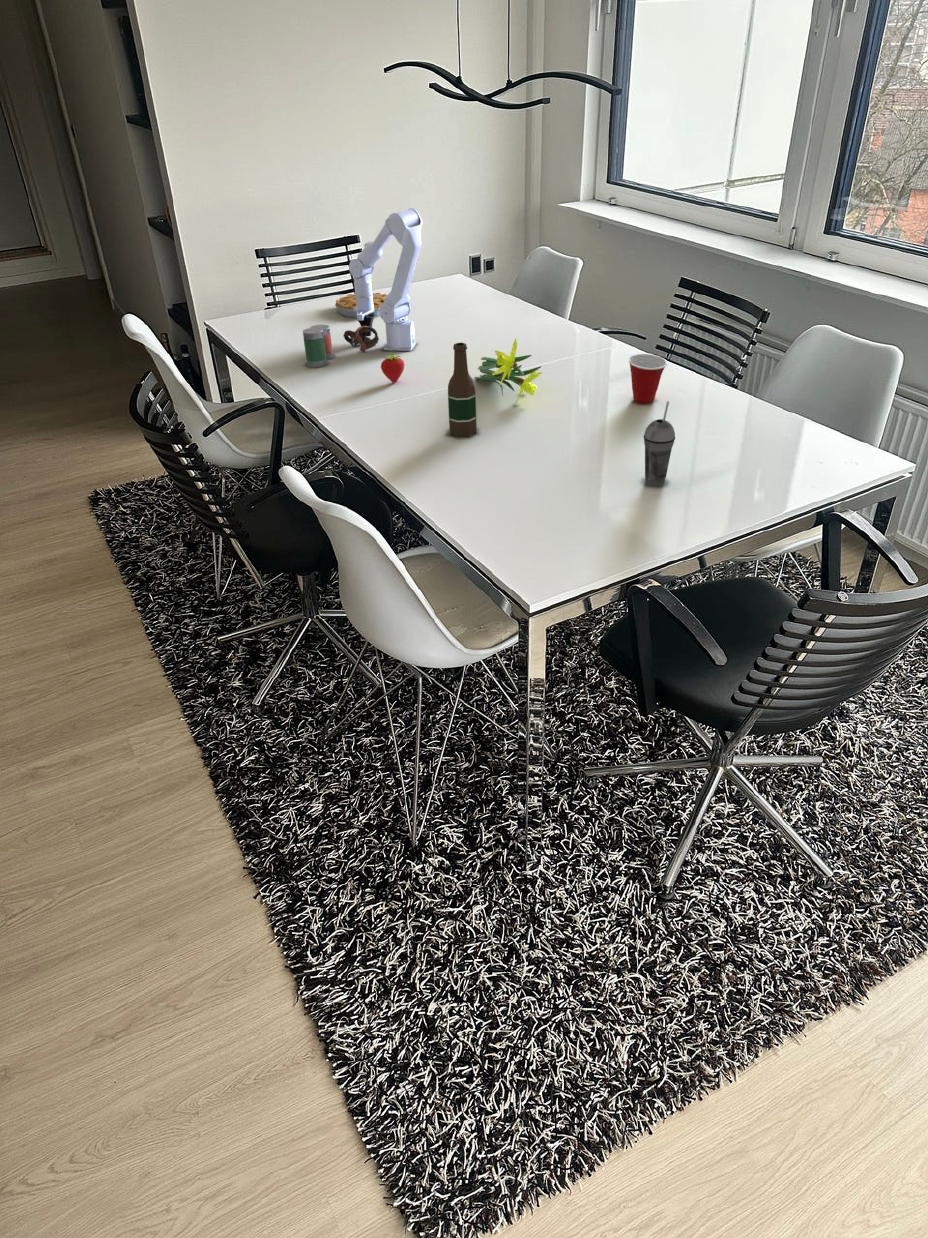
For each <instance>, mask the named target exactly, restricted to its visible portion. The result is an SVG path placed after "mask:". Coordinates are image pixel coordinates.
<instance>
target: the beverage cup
mask: <svg viewBox="0 0 928 1238" xmlns="http://www.w3.org/2000/svg"><path fill="white" fill-rule="evenodd" d="M669 403H670V401H669V400H667V401H666V404H665V408H664V413H663V418H660V419H655V420H652V421H651V422H650V423H649V424H648V425H647V426H646V428H645V431H644V433H643V436H642V437H643V444H644V478H645V479H644V481H645V485H647V486H649V487H662V486H664V484H665V482H666V479H667V474H668V470H669V464H670V461H671V460H670V459H671V454H672V449H673V447H674V444H675V440H676V432H675V428H674V426H673V424H672V423H671V422H669V421H668V420H666V417H667V414H668V408H669Z"/></svg>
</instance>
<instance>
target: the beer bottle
mask: <svg viewBox="0 0 928 1238" xmlns="http://www.w3.org/2000/svg"><path fill="white" fill-rule="evenodd" d="M452 350H453V351H454V352H453V374H452V375H451V377H450V379H449V381H448V384H447V404H448V405H447V407H448V408H447V409H448V426H449V434H450V436H452V437H455V438H457V439H460V438H470V437H472V436H474V435H476V434H477V396H476V395H477V394H476V393H477V392H476V385H475V381H474V380H473V378H472V376H471V375H470V373H469V369H468V368H469V367H468V356H467V350H468V346H467V343H465V342H456V343H454V344H453V347H452Z"/></svg>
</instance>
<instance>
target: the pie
mask: <svg viewBox="0 0 928 1238" xmlns="http://www.w3.org/2000/svg"><path fill="white" fill-rule="evenodd" d="M387 295H388V294H386V293H384V294H382V293H381V292H375V293H373V292H372V296H373V303H374V311H373V312H371V313H375V317H379V316H380V312H379V309H380V306H381V305H382V304H383V302H384V300H385V298H386V296H387ZM334 306H335V307H336V308H337V310H338V312H339V314H341V315H342V316H344V317H349V318H356V319H357V317H356V316H357V312H356V311H354V310H353V309H354V308H357V306H356V296H355V293H354V294H352V293H349V294H346V296H341V297H339V299H338V298H337V299H336V300H335V304H334Z"/></svg>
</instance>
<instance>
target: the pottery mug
mask: <svg viewBox="0 0 928 1238" xmlns="http://www.w3.org/2000/svg"><path fill="white" fill-rule="evenodd" d="M369 331H372V332H371V333H372V334H374V337H373V338H371V337H369V336H365V335H366V332H369ZM342 336H343V338H344V340H345V341H346V342H347V343H349V344H350V346H351V347H356V346H358V345H360V347H359V351H360V353H361V352H362V353H365V352H366V351H367V350H370V349H371V348H372V349H373V347H376V346H377V344H378V343H379V341H380V338H379V336H378V332H377V329H375V328H373V326H372V327H369V326H361V325H360V326H359V327H358V328H356V330H355V331H354V330H348V329H347V330H345V331H344V333H343V335H342Z"/></svg>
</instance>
